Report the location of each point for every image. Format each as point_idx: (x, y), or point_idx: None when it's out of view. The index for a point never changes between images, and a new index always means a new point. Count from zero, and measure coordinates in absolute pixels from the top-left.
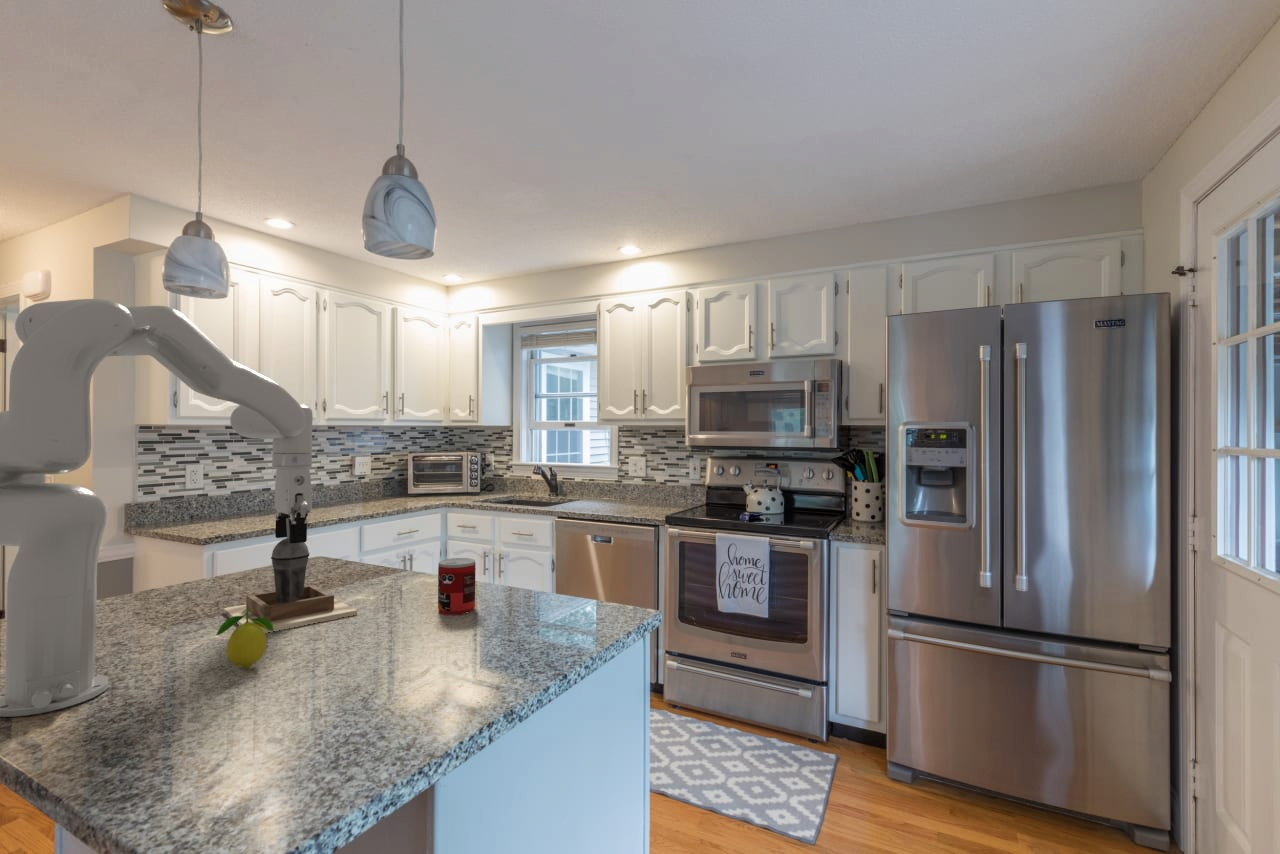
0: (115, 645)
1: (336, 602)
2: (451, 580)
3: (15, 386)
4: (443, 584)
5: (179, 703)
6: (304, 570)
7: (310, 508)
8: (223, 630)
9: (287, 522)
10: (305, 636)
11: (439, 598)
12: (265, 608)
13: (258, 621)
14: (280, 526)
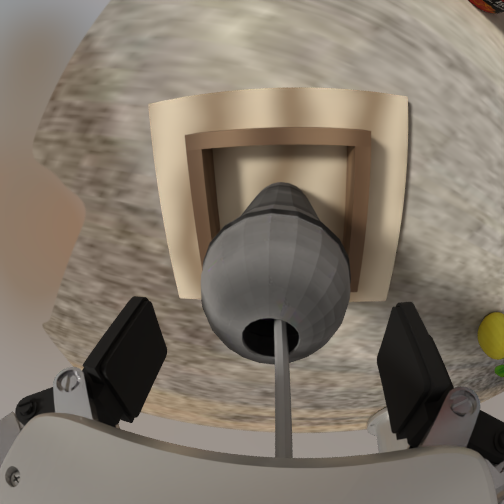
0: (274, 395)
1: (296, 98)
2: None
3: None
4: None
5: (492, 359)
6: (313, 215)
7: (490, 473)
8: (497, 370)
9: (291, 441)
10: (454, 232)
11: (496, 5)
12: (356, 288)
13: None
14: (142, 383)
